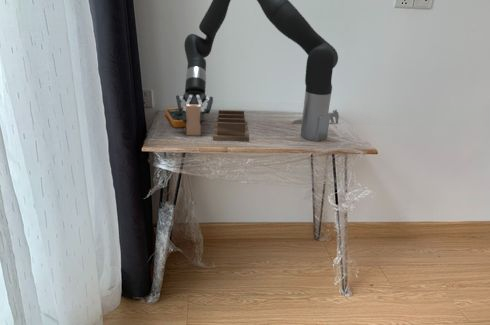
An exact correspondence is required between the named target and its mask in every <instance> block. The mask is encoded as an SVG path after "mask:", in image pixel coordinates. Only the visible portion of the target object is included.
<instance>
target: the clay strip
mask: <svg viewBox="0 0 490 325" xmlns="http://www.w3.org/2000/svg"><path fill="white" fill-rule="evenodd" d="M200 112H201V105H199V104H187V105H186V120H187V123H186V126H187V127H186V136H201V134H202V124H200Z"/></svg>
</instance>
